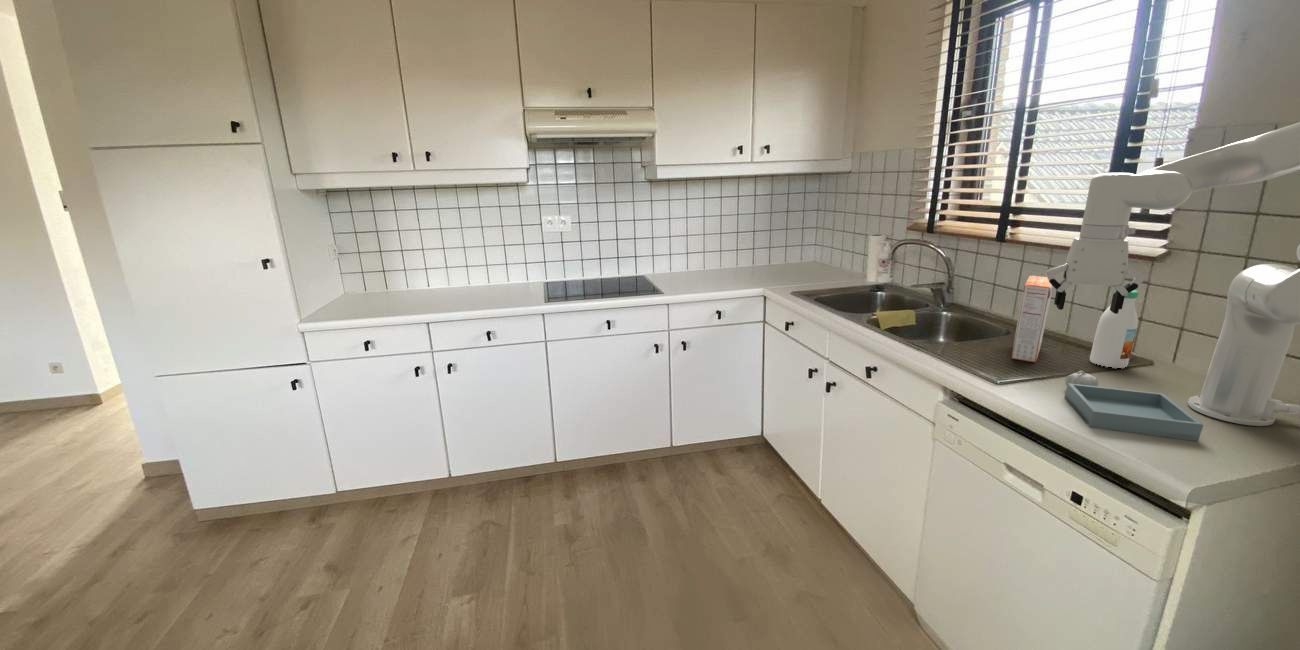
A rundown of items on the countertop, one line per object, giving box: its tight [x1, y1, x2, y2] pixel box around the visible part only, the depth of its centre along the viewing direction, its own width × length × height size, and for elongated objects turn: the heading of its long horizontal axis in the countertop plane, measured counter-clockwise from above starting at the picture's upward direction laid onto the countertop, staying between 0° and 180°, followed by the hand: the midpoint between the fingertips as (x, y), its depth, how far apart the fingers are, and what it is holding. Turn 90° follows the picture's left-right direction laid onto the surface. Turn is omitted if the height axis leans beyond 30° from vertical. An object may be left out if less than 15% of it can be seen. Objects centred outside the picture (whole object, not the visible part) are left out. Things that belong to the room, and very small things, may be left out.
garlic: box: [1064, 370, 1099, 387], centre depth 123 cm, size 6×5×5 cm
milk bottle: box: [1089, 289, 1139, 369], centre depth 136 cm, size 8×8×20 cm
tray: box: [1064, 383, 1204, 442], centre depth 110 cm, size 17×15×4 cm
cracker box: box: [1011, 275, 1054, 363], centre depth 144 cm, size 14×6×21 cm, turn 141°
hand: (1086, 310), depth 118 cm, fingers open, 9 cm apart
